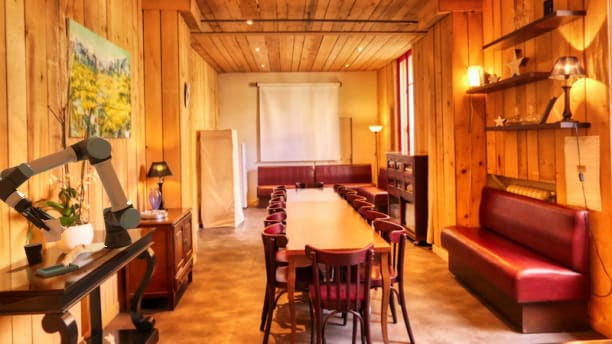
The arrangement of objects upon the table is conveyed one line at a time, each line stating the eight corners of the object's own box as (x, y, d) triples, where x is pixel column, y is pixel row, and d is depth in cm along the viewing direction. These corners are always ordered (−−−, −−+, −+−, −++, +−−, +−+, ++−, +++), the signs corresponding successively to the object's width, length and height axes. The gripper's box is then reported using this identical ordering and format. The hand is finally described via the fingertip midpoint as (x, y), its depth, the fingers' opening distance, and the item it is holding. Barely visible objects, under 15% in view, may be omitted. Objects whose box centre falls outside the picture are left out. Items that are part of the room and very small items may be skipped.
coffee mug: (36, 265, 240) (33, 246, 239) (22, 265, 241) (19, 247, 241) (52, 259, 251) (50, 240, 250) (39, 259, 253) (36, 241, 252)
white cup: (57, 242, 215) (54, 220, 214) (40, 243, 215) (37, 222, 215) (66, 238, 223) (63, 218, 222) (50, 239, 223) (47, 219, 222)
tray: (68, 265, 230) (68, 262, 230) (79, 269, 220) (78, 265, 220) (37, 273, 220) (37, 269, 220) (46, 277, 210) (46, 273, 210)
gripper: (25, 206, 227) (64, 234, 229) (2, 212, 206) (45, 243, 209) (35, 194, 227) (73, 222, 229) (13, 199, 206) (55, 230, 209)
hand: (60, 232), depth 219 cm, fingers closed on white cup, 8 cm apart
